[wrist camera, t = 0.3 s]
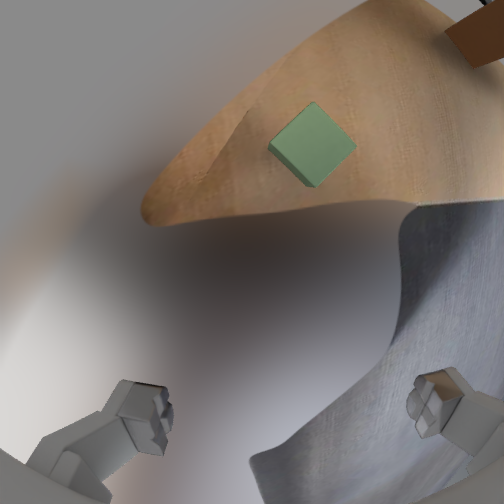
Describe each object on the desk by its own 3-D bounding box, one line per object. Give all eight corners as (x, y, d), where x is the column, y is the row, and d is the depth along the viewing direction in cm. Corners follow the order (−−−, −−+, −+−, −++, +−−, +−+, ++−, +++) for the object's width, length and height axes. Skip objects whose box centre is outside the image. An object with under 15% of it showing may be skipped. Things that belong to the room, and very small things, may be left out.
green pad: (304, 112, 18) (313, 100, 15) (343, 150, 19) (358, 146, 16) (266, 148, 19) (268, 142, 16) (306, 187, 20) (315, 188, 17)
